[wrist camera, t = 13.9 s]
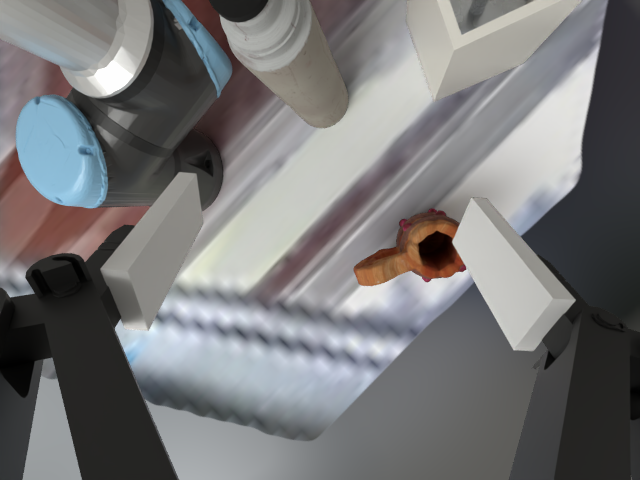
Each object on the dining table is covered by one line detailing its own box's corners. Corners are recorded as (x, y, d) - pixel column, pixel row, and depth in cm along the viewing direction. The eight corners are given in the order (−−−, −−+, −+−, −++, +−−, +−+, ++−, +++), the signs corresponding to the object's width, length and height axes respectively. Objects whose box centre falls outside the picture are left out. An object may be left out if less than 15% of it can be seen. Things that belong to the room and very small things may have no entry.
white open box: (433, 102, 46) (454, 50, 30) (405, 21, 45) (411, -73, 30) (523, 63, 42) (597, -17, 27) (494, -23, 42) (552, -155, 27)
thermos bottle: (312, 65, 49) (211, -107, 22) (358, 88, 48) (311, -64, 21) (289, 114, 50) (168, 11, 23) (333, 137, 49) (258, 57, 22)
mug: (446, 200, 47) (470, 199, 32) (466, 252, 47) (499, 274, 32) (353, 236, 50) (337, 249, 36) (372, 283, 50) (364, 316, 36)
